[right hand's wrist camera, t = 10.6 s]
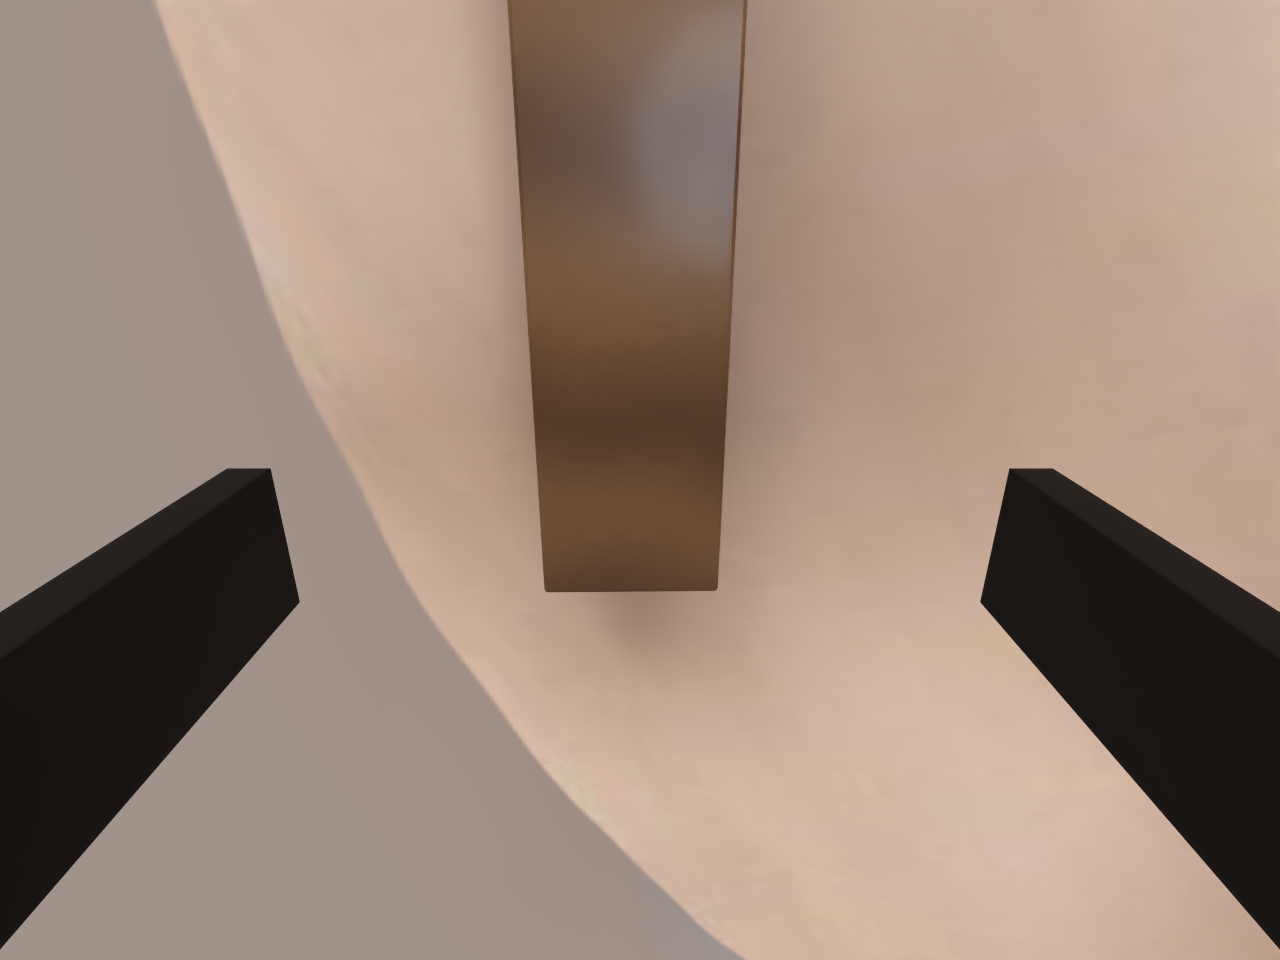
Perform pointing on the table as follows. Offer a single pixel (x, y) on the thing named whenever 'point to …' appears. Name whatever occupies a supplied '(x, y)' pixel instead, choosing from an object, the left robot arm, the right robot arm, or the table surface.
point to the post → (629, 279)
